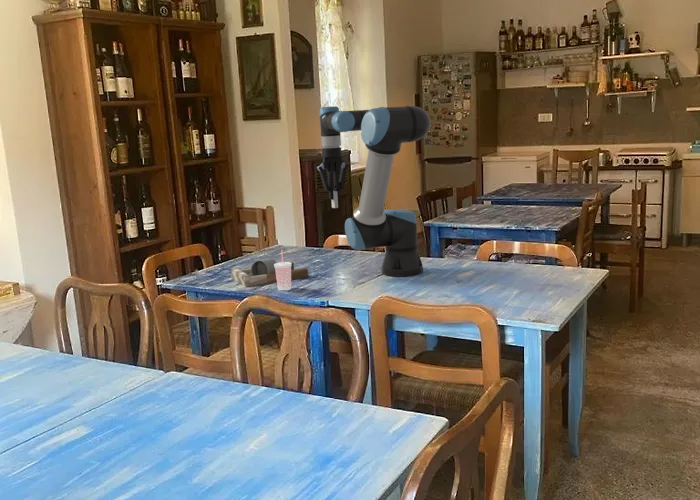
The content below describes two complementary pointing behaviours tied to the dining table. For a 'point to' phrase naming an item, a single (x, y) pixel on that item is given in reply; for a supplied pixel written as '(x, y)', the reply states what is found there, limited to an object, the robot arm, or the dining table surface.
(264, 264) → the ceramic mug
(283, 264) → the beverage cup
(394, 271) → the robot arm
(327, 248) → the dining table surface
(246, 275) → the guide channel
